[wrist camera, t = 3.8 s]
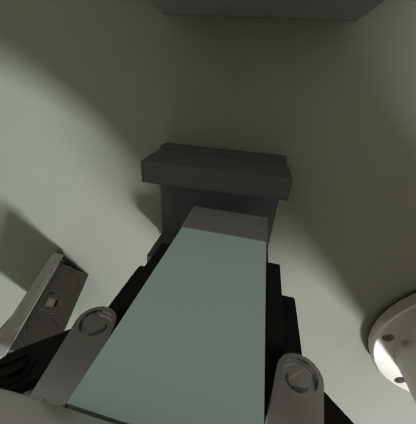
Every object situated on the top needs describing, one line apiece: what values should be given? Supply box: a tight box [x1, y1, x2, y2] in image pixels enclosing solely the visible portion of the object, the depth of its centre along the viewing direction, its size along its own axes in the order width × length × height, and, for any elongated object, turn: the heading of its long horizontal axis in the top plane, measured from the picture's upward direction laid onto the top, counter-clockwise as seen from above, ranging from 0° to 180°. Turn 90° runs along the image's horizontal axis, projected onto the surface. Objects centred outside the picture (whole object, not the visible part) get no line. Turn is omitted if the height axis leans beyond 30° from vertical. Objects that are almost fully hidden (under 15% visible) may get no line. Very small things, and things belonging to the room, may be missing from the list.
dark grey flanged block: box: [141, 143, 292, 264], centre depth 16 cm, size 8×8×4 cm
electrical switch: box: [0, 252, 88, 359], centre depth 22 cm, size 9×5×9 cm, turn 143°
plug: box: [67, 206, 268, 424], centre depth 10 cm, size 4×4×10 cm
